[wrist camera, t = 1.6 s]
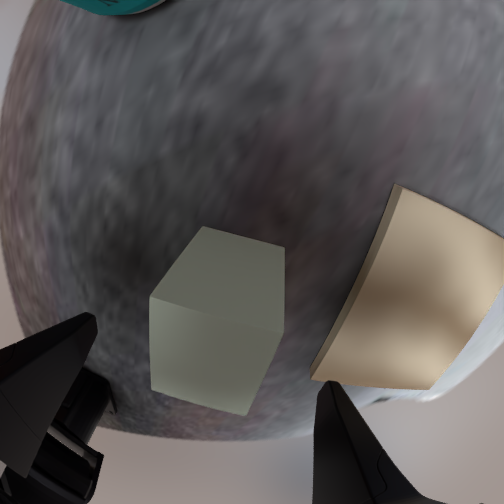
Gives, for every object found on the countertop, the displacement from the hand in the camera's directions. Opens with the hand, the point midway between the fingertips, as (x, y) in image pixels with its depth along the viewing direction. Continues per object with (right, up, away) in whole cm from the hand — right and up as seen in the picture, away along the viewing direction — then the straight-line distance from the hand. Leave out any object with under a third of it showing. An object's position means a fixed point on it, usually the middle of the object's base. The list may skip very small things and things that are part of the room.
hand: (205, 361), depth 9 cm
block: (+1, +2, +5) cm, 6 cm away
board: (+11, 0, +4) cm, 12 cm away
